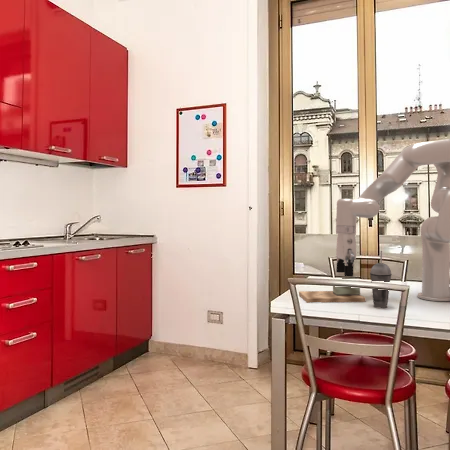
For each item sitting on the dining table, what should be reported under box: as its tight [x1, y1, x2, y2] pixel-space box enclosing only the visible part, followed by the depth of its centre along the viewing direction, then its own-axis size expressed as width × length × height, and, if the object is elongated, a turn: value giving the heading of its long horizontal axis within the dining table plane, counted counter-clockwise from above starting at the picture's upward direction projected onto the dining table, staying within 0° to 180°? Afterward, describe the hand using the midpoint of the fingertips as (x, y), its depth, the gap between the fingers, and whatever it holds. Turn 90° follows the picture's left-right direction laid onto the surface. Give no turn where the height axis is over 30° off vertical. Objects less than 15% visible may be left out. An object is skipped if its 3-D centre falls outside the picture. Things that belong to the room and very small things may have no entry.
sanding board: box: [298, 290, 366, 304], centre depth 164 cm, size 22×14×2 cm, turn 92°
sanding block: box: [332, 277, 361, 296], centre depth 164 cm, size 9×5×6 cm, turn 92°
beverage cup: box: [369, 250, 392, 309], centre depth 149 cm, size 7×7×20 cm
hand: (344, 274), depth 164 cm, fingers open, 9 cm apart
